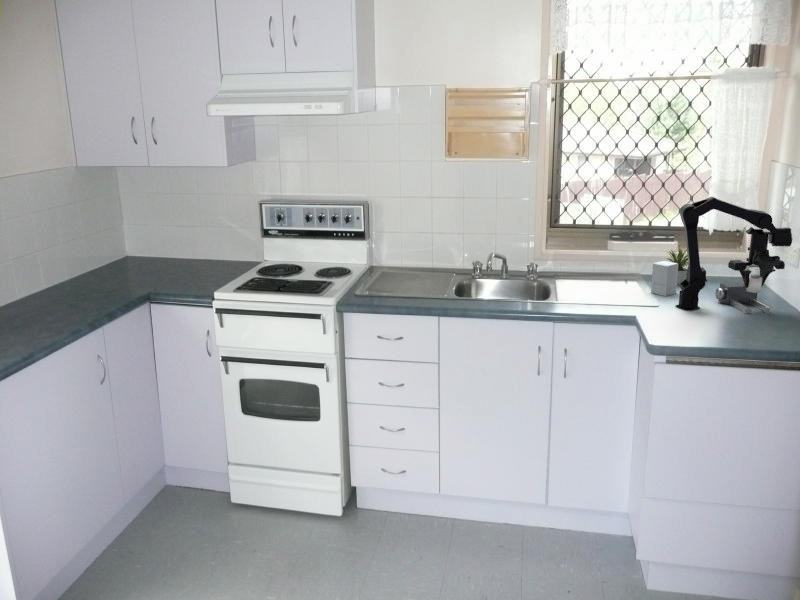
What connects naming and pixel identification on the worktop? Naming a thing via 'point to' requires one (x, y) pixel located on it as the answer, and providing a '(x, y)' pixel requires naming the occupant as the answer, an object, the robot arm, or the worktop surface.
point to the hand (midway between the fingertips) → (753, 287)
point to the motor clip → (739, 297)
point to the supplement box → (664, 278)
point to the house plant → (680, 264)
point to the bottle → (754, 283)
